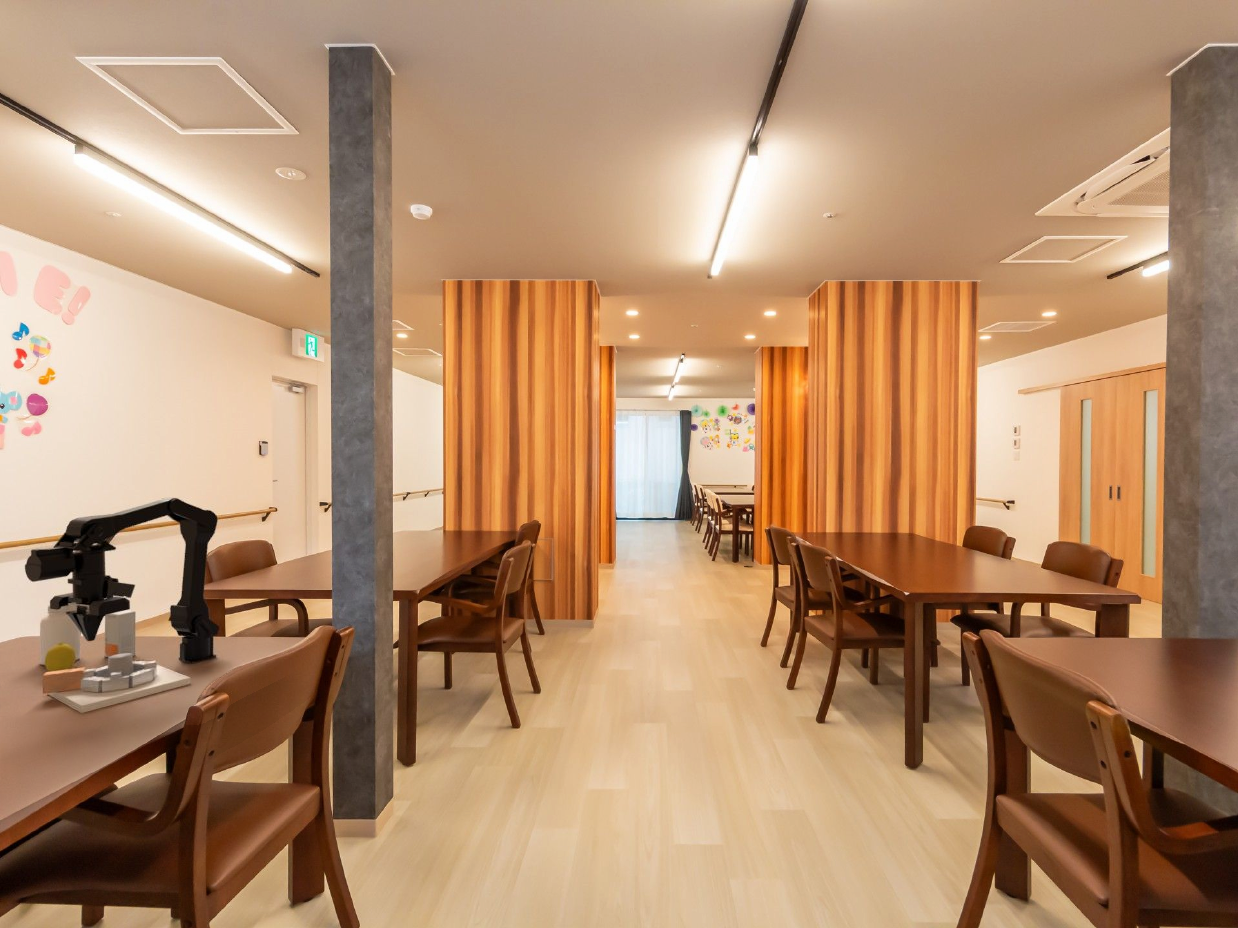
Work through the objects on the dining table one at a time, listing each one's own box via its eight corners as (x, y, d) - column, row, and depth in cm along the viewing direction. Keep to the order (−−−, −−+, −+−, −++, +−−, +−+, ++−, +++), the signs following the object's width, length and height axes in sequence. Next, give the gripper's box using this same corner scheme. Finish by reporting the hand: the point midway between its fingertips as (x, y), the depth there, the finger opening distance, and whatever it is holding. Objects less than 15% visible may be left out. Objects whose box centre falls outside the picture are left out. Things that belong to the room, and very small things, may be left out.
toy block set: (158, 668, 149) (158, 651, 149) (152, 684, 138) (152, 666, 138) (51, 683, 138) (51, 665, 138) (35, 701, 127) (35, 682, 127)
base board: (151, 668, 154) (152, 638, 154) (189, 683, 143) (190, 651, 143) (47, 693, 137) (47, 660, 137) (81, 712, 126) (81, 676, 126)
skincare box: (103, 657, 163) (104, 612, 163) (121, 652, 167) (121, 608, 167) (118, 659, 160) (118, 614, 161) (136, 655, 165) (136, 610, 165)
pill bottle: (85, 659, 160) (86, 602, 161) (45, 668, 154) (45, 608, 154) (74, 654, 165) (75, 599, 165) (34, 662, 158) (35, 604, 158)
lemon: (56, 680, 145) (57, 646, 145) (38, 678, 146) (38, 645, 146) (81, 672, 151) (81, 640, 151) (63, 670, 152) (64, 638, 152)
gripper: (154, 568, 143) (155, 634, 143) (103, 563, 149) (105, 626, 150) (99, 578, 132) (101, 649, 133) (47, 572, 139) (49, 640, 139)
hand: (90, 640), depth 139 cm, fingers closed
